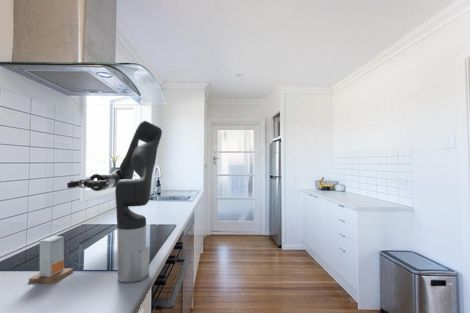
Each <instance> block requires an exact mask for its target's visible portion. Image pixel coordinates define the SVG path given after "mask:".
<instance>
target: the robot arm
mask: <svg viewBox="0 0 470 313" xmlns="http://www.w3.org/2000/svg"><path fill="white" fill-rule="evenodd" d="M162 134H163V132H162V129H161V127H160V126H157V125H155V124H153V123H151V122H149V121H146V120H142V121H140V123H139V124H138V125H137V128H136V130H135V132H134V135H133V137H132V139H131V141H130V144H129V146H128V150H127V152H126V155H125V157H124V158H123V159H122V162H121V163H120V165H119V168H118V169H117V168H116V169H114V170H113V171H112V172H110V173H105V172H103V173H94V174H92V175H91V176H90V177H89V178H85V179H77V180H69V182H67V185H66V186H67V188H68V189H73V188H80V189H85V188H87V189H90V190H92V191H95V192H100V191H106V190H109V189H112V188H115V192H114V194H115V208H116V223H117V224H116V226H117V227H116V228H117V229H116V231H117V232H116V239H117V240H116V242H117V244H116V246H117V247H116V248H117V250H116V251H117V280H118V282H120V283H135V282H142V281H143V280H145V278H147V276H148V275H149V274H150V247H149V246H147V218H146V217H145V216H144V215H143V214H138V213H136V212H134V211H133V210H131V209H130V208H129V207H141V206H142V207H143V206H146V205H148V203H149V201H150V197H151V191H152V179H153V172H154V168H155V165H156V158H157V155H158V154H157V152H158V147H159V144H160V141H161V138H162ZM140 141H141V142H144V143H142V144H140V145H139V142H140ZM134 172H135V173H136V175H137V176H139V178H134Z"/></svg>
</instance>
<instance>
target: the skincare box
mask: <svg viewBox="0 0 470 313" xmlns="http://www.w3.org/2000/svg"><path fill="white" fill-rule="evenodd" d="M64 238H65V237H64V236H61V235H60V236H59V235H53V236H51V237H47V238H46V237H45V239H40V240H39V273H40V276H44V277H51V276H52V275H55V274H56V273H58V272H61V271H63V270H64V268H65V265H64V264H65V261H64V260H65V259H64V256H65V254H64V250H65V247H64V245H65V242H64V240H65V239H64Z"/></svg>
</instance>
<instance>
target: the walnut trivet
mask: <svg viewBox="0 0 470 313" xmlns="http://www.w3.org/2000/svg"><path fill="white" fill-rule="evenodd" d="M73 272H74V268H70V267H68V268H67V267H66V268H65V267H64V270H63V271H61V272H58V273H56V274H55V275H52V276H51V277H44V276H40V272H39V273H37V274H35V275H33V276H31V277H29V278H28V283H35V284H37V283H39V284H40V283H41V284H46V283H47V284H55V283H57V282H59V281H60V280H62V279H63V278H66V277H67V276H69V275H70V274H72V273H73Z"/></svg>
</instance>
